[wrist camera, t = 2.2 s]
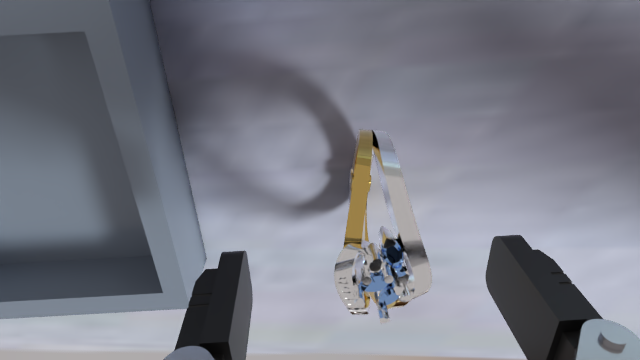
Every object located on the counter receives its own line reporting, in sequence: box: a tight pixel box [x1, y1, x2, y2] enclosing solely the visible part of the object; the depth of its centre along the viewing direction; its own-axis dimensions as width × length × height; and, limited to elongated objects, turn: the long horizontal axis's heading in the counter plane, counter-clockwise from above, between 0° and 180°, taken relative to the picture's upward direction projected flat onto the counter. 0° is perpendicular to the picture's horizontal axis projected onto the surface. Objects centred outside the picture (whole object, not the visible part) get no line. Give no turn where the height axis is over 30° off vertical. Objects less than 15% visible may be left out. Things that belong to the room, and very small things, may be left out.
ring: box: [334, 129, 432, 324], centre depth 16 cm, size 7×3×8 cm, turn 175°
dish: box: [0, 0, 207, 319], centre depth 17 cm, size 12×13×4 cm
